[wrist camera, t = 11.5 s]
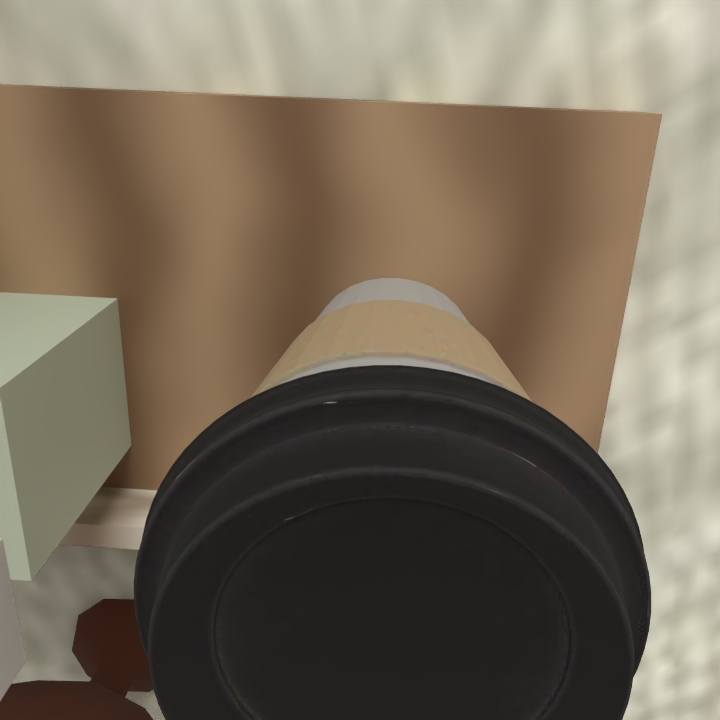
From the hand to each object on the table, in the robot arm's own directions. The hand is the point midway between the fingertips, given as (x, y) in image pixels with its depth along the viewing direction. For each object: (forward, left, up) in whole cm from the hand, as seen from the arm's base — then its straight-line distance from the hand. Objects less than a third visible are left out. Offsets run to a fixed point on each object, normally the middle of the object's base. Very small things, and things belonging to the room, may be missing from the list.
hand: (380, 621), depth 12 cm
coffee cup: (0, 0, -14) cm, 14 cm away
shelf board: (-4, 0, -16) cm, 16 cm away
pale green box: (-13, -2, -14) cm, 19 cm away
